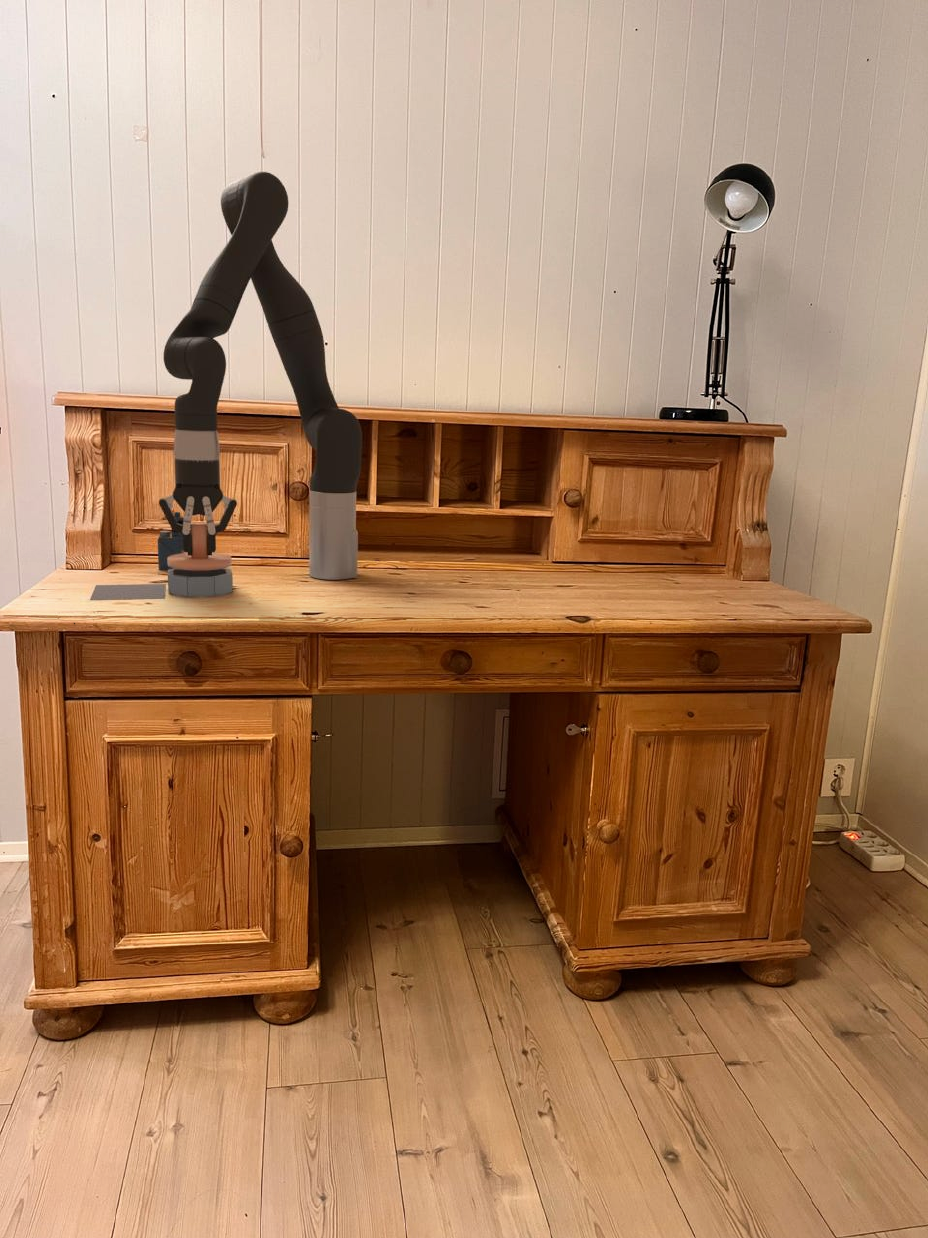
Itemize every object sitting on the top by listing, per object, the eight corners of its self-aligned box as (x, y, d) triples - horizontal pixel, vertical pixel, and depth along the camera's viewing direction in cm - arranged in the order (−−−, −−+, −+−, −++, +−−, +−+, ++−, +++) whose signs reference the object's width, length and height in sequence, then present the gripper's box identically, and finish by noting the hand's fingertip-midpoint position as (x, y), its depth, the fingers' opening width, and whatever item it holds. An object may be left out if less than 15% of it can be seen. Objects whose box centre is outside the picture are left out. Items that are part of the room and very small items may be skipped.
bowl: (230, 586, 168) (230, 565, 167) (233, 599, 158) (233, 577, 157) (168, 587, 165) (168, 566, 164) (168, 601, 154) (167, 578, 154)
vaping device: (183, 574, 177) (181, 513, 174) (156, 572, 177) (154, 512, 174) (187, 571, 179) (185, 511, 177) (161, 570, 179) (159, 510, 177)
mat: (166, 587, 165) (165, 583, 165) (165, 601, 154) (165, 598, 154) (96, 588, 161) (95, 585, 161) (89, 603, 150) (89, 600, 150)
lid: (230, 558, 167) (229, 520, 165) (233, 570, 156) (232, 529, 155) (168, 559, 163) (166, 519, 162) (167, 570, 153) (165, 529, 152)
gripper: (237, 456, 161) (238, 551, 165) (155, 454, 157) (158, 551, 161) (239, 459, 154) (241, 558, 158) (153, 457, 150) (157, 559, 154)
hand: (199, 554), depth 160 cm, fingers closed on lid, 3 cm apart
